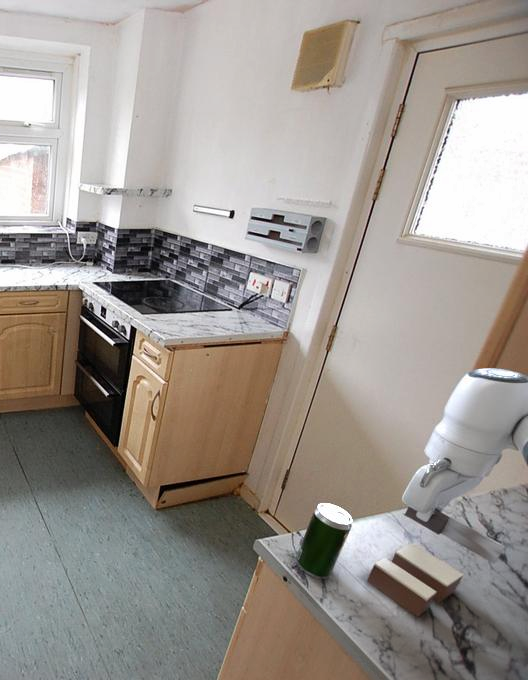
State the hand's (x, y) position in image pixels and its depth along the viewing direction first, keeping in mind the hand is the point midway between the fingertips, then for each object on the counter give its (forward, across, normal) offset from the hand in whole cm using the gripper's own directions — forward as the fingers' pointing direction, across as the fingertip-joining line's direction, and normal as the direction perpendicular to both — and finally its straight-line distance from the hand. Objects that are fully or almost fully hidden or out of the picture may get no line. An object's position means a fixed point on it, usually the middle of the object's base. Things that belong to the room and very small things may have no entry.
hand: (427, 516), depth 86 cm
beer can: (+7, -25, +4) cm, 27 cm away
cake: (+7, -9, -5) cm, 13 cm away
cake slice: (+7, -17, -5) cm, 19 cm away
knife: (+2, 0, -4) cm, 4 cm away
